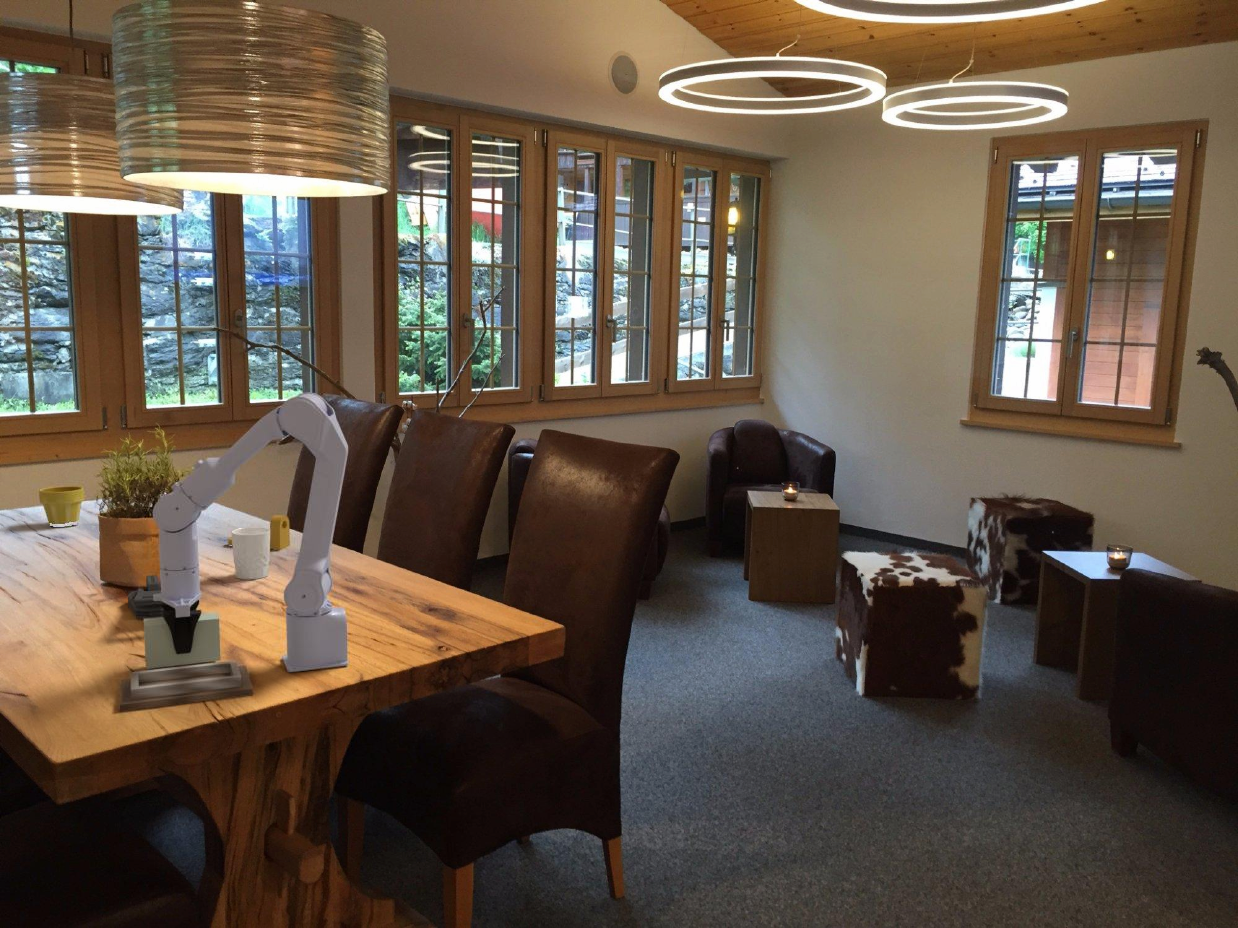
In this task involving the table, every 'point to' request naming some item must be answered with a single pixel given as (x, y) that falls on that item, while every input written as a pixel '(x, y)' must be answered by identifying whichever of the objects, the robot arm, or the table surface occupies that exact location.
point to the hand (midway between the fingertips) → (182, 648)
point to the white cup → (251, 552)
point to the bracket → (277, 533)
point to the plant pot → (62, 503)
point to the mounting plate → (184, 685)
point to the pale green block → (162, 646)
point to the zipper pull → (146, 600)
